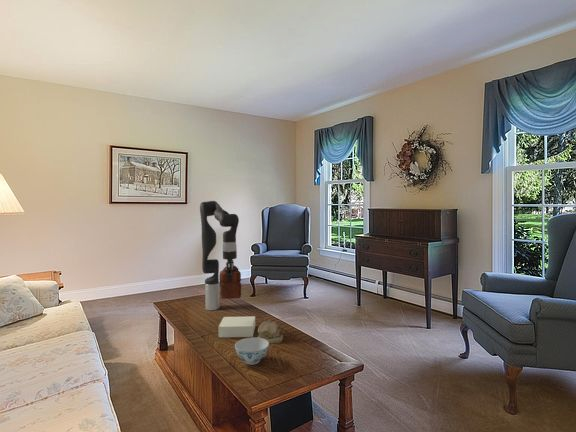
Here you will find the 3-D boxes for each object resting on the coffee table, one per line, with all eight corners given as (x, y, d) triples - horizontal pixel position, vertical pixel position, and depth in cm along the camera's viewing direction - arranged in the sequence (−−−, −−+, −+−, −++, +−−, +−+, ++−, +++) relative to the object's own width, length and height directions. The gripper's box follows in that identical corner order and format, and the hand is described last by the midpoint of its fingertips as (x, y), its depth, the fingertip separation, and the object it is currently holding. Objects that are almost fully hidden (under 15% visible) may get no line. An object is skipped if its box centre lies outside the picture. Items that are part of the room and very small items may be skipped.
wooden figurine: (241, 295, 190) (240, 263, 190) (241, 298, 184) (240, 265, 184) (220, 296, 188) (219, 264, 188) (219, 299, 182) (218, 266, 182)
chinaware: (272, 366, 144) (272, 348, 144) (237, 371, 140) (237, 353, 140) (265, 351, 159) (264, 335, 159) (233, 356, 155) (232, 339, 154)
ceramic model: (252, 341, 171) (252, 322, 171) (261, 333, 182) (261, 315, 182) (278, 345, 167) (278, 325, 166) (286, 336, 177) (285, 317, 177)
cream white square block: (224, 327, 193) (223, 316, 193) (255, 326, 194) (255, 316, 193) (218, 338, 177) (218, 326, 177) (252, 337, 178) (252, 326, 177)
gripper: (224, 248, 192) (224, 278, 193) (221, 252, 178) (222, 283, 178) (237, 248, 193) (237, 277, 193) (235, 251, 179) (236, 283, 179)
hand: (230, 280), depth 186 cm, fingers closed on wooden figurine, 6 cm apart
